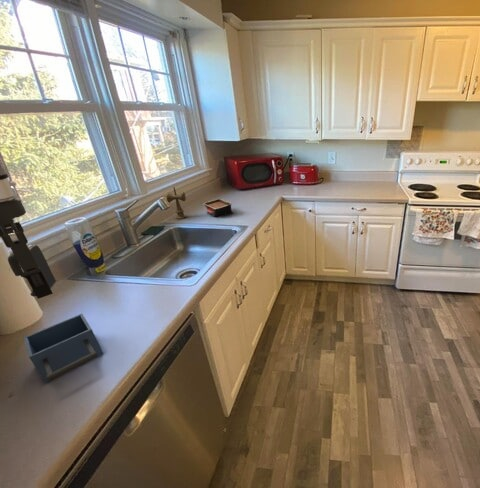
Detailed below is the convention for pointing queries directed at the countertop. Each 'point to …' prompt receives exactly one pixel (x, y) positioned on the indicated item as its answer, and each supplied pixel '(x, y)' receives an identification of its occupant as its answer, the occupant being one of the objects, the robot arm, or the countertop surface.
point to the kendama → (177, 202)
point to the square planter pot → (218, 207)
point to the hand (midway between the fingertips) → (42, 289)
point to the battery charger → (39, 261)
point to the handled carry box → (62, 347)
